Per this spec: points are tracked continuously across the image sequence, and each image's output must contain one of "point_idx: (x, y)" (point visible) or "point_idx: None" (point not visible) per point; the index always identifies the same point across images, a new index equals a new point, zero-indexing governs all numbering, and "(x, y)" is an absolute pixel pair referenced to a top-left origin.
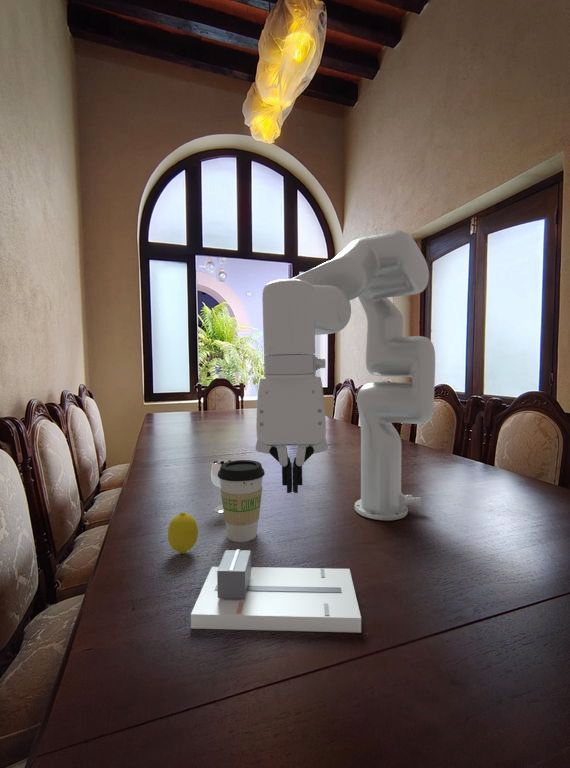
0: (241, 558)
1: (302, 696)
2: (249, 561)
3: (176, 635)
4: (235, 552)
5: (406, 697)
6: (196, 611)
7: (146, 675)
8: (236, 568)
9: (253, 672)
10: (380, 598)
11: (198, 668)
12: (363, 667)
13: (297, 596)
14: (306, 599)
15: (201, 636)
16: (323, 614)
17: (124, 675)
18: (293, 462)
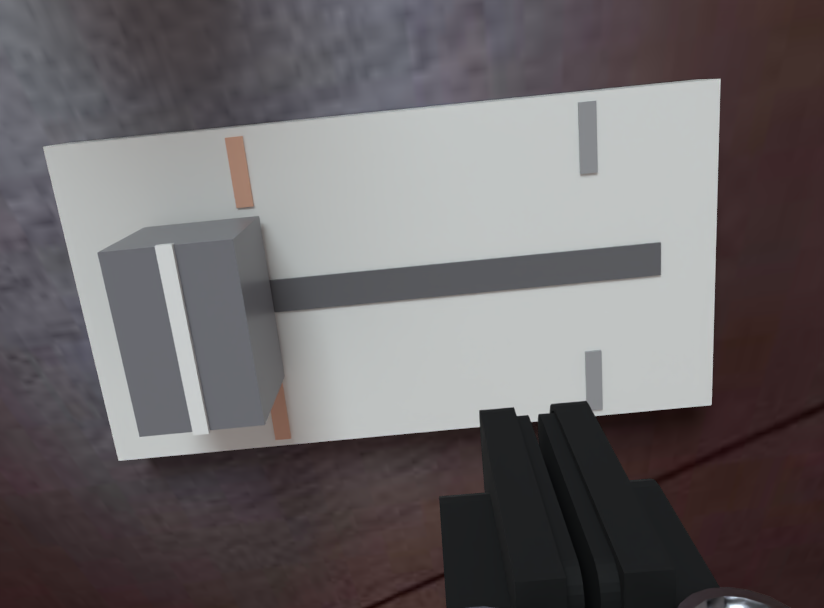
0: (211, 323)
1: None
2: (247, 276)
3: (106, 467)
4: (159, 271)
5: (761, 572)
6: (131, 446)
7: (108, 597)
8: (219, 409)
9: (380, 556)
10: (803, 193)
11: (231, 563)
12: (673, 506)
13: (482, 318)
14: (518, 331)
15: (186, 461)
16: None
17: (52, 604)
18: (611, 604)
